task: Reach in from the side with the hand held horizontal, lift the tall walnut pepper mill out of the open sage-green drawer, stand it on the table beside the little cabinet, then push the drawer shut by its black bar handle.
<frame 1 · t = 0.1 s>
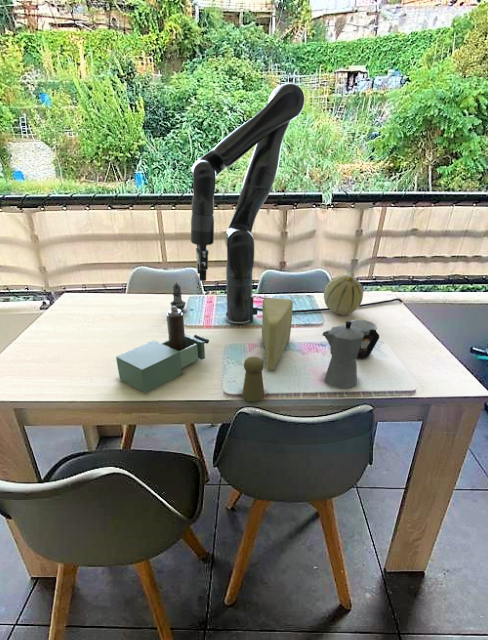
hand: (201, 276, 145), 17 cm above the table, tool pointing down, fingers open, 8 cm apart
pepper mill: (178, 355, 127), point 2 cm above the table, touching drawer
drawer: (183, 349, 126), point 4 cm above the table, slide at 9.0 cm, touching pepper mill
coffee mug: (353, 354, 132), on the table
cantaloupe: (340, 313, 162), on the table
cheese: (273, 354, 132), on the table
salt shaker: (178, 312, 162), on the table
olive rounded tall piece: (253, 395, 112), on the table
coffeepot: (344, 380, 118), on the table
cabinet: (151, 376, 120), on the table
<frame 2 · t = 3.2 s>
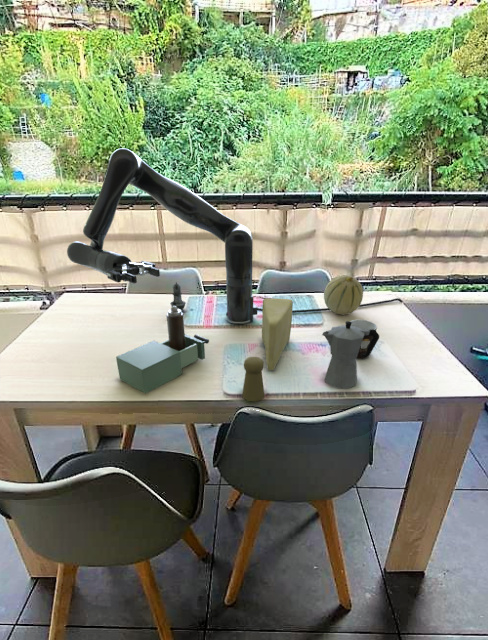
hand: (147, 276, 122), 24 cm above the table, tool horizontal, fingers open, 8 cm apart
nothing on the table moved.
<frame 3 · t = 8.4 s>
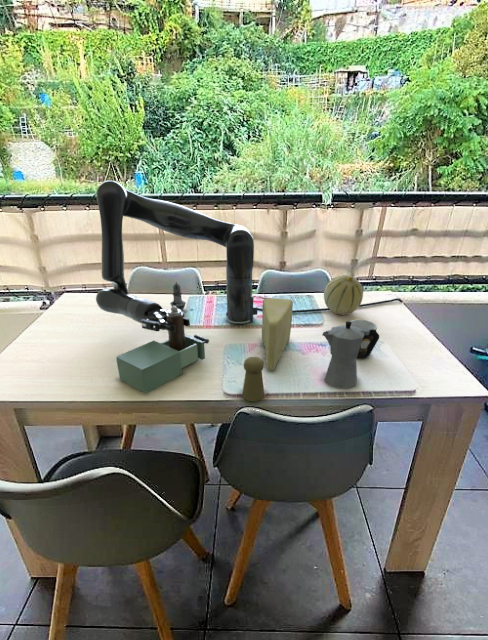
hand: (181, 325, 120), 13 cm above the table, tool horizontal, fingers closed on pepper mill, 5 cm apart
pepper mill: (178, 355, 127), point 2 cm above the table, touching drawer, gripper
everything else where it was.
when the fingers open (11 cm above the table, at t = 16.5 s): pepper mill stays where it is, on the table.
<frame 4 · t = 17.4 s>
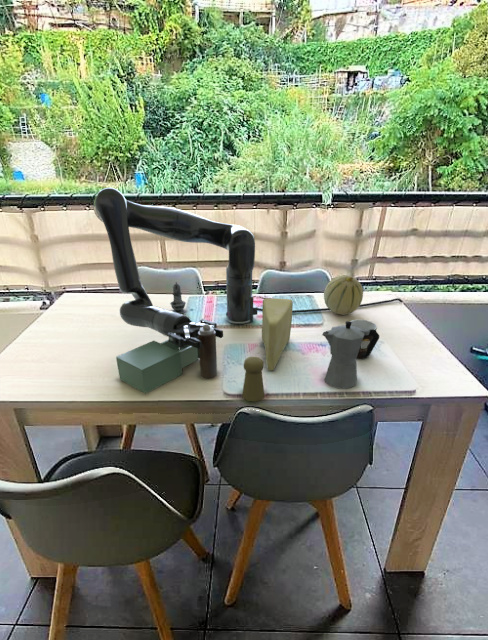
hand: (211, 339, 114), 12 cm above the table, tool horizontal, fingers open, 8 cm apart
pepper mill: (208, 374, 121), on the table
drawer: (183, 349, 126), point 4 cm above the table, slide at 9.0 cm
everything else where it was.
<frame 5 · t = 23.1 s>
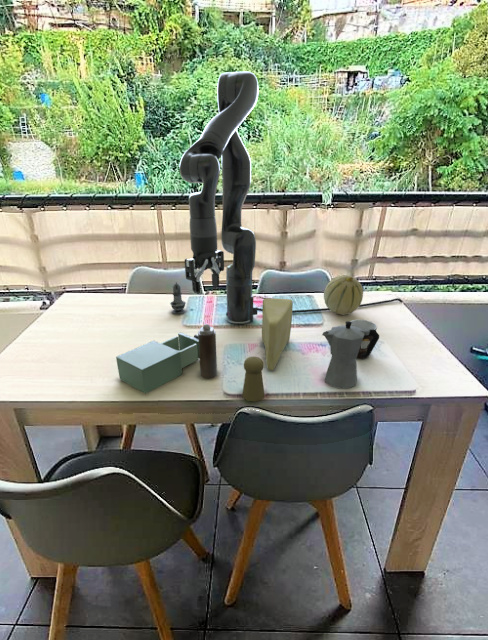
hand: (206, 289, 126), 20 cm above the table, tool pointing down, fingers open, 7 cm apart
nothing on the table moved.
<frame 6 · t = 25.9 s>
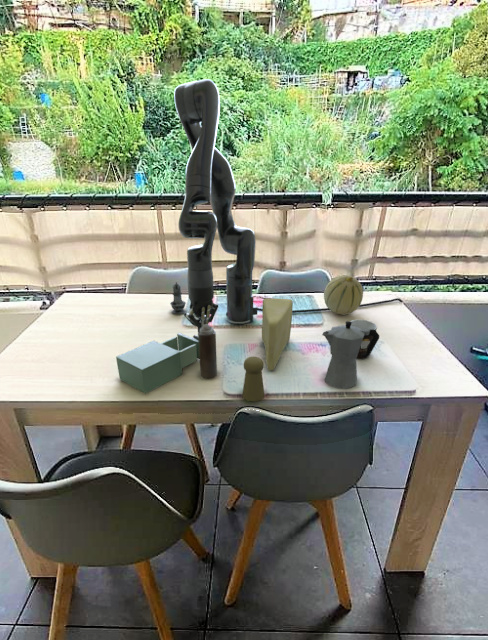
hand: (202, 336, 131), 5 cm above the table, tool pointing down, fingers closed
drawer: (182, 350, 126), point 4 cm above the table, slide at 8.6 cm, touching gripper
everything else where it was.
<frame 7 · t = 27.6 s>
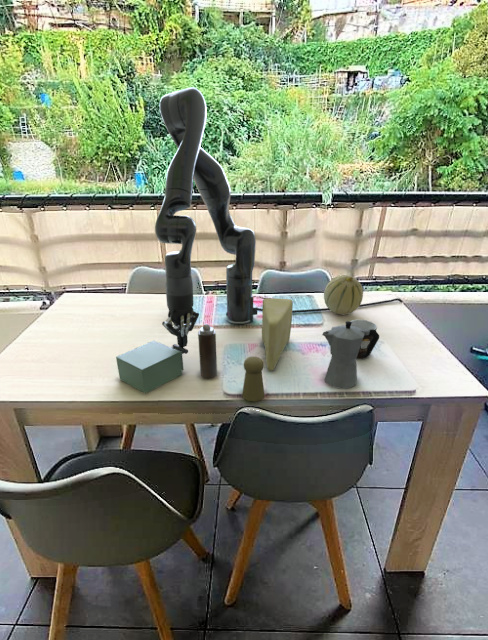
hand: (182, 346, 126), 5 cm above the table, tool pointing down, fingers closed
drawer: (160, 360, 120), point 4 cm above the table, slide at 0.0 cm, touching cabinet, gripper
everything else where it was.
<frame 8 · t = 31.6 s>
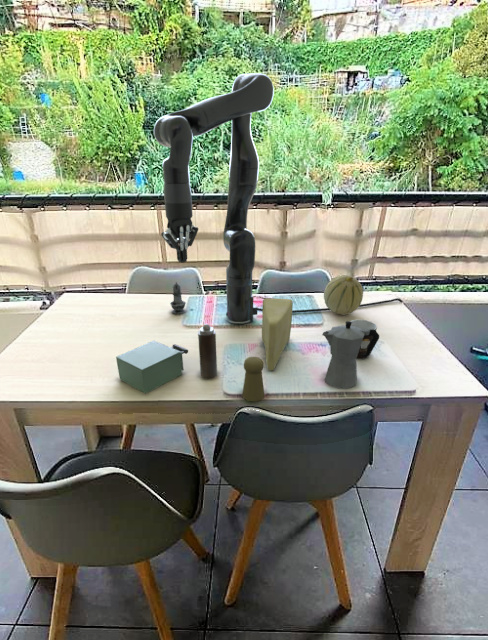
hand: (182, 261, 125), 27 cm above the table, tool pointing down, fingers closed
drawer: (160, 360, 120), point 4 cm above the table, slide at 0.0 cm
everything else where it was.
at the end: pepper mill inside the target area (0.2 cm from its centre), on the table; pepper mill tilted 0°; drawer slide at 0.0 cm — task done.
